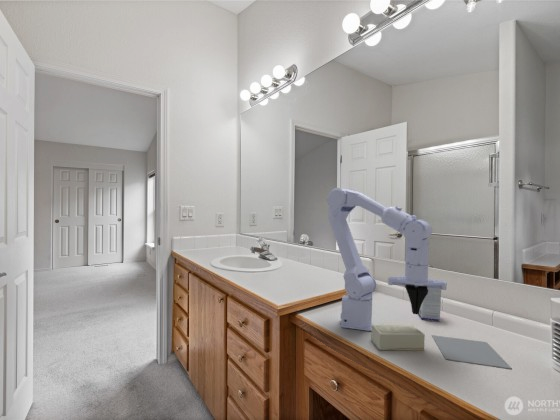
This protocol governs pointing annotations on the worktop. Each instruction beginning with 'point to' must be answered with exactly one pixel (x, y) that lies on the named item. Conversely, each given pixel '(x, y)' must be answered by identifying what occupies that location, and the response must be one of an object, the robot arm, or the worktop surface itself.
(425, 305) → the supplement box
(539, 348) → the worktop surface
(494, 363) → the rubber mat
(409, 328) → the skincare box
